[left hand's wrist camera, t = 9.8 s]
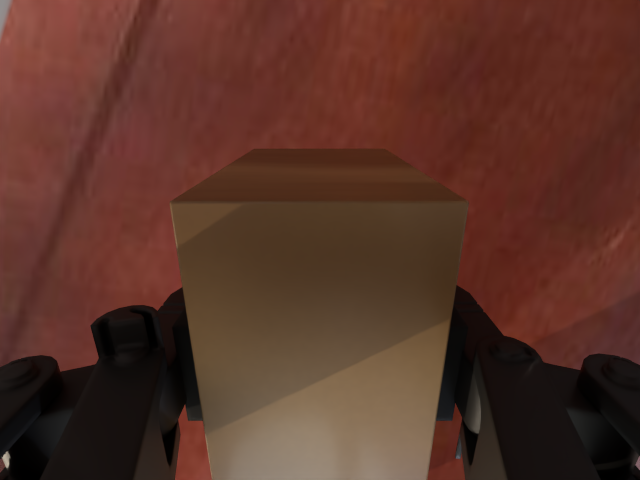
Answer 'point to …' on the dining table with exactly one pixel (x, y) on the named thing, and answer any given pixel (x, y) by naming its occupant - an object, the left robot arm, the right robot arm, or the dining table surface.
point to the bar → (319, 312)
